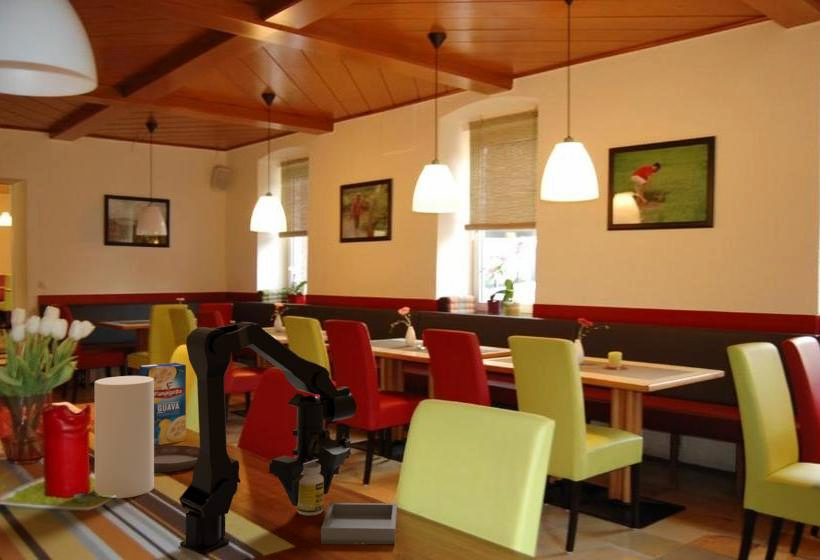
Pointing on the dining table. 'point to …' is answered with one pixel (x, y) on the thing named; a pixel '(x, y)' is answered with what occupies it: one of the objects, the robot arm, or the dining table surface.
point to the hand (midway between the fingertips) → (310, 499)
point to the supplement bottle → (311, 490)
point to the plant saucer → (175, 457)
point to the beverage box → (168, 401)
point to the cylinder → (124, 436)
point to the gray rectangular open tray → (359, 523)
